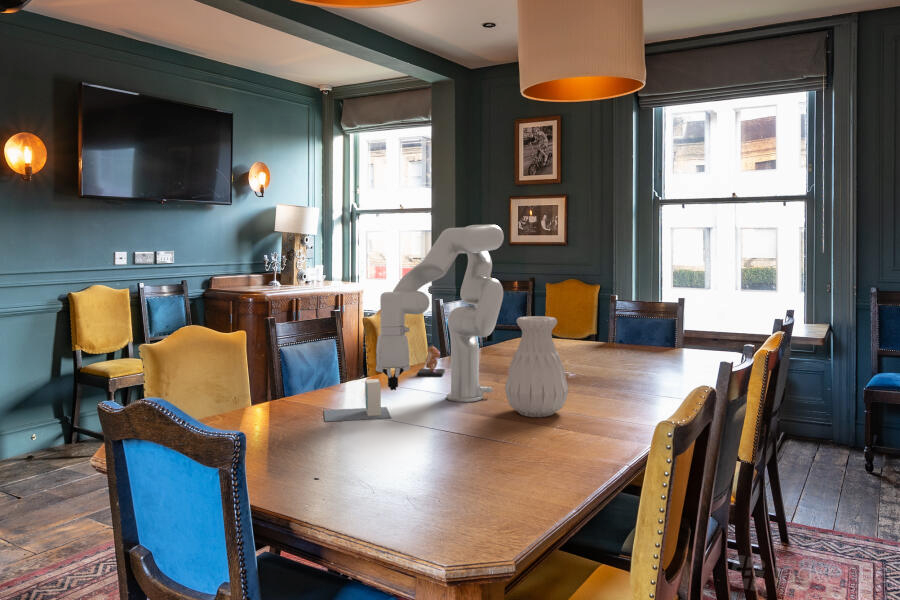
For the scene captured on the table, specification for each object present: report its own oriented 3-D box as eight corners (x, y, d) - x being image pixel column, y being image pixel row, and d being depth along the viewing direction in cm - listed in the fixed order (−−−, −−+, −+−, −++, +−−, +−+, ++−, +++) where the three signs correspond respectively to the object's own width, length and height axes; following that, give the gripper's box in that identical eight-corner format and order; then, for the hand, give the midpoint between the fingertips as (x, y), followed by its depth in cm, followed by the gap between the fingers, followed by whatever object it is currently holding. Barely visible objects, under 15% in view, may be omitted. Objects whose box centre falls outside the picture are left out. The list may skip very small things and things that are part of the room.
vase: (527, 424, 204) (528, 323, 202) (492, 410, 222) (492, 316, 219) (581, 416, 213) (582, 319, 211) (544, 403, 231) (544, 313, 229)
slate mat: (386, 407, 225) (386, 406, 225) (391, 418, 212) (391, 417, 211) (323, 411, 221) (323, 410, 221) (325, 422, 208) (325, 421, 207)
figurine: (442, 377, 278) (441, 347, 277) (417, 376, 279) (416, 347, 278) (444, 372, 288) (444, 343, 287) (420, 372, 289) (420, 343, 288)
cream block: (378, 409, 221) (378, 379, 220) (380, 415, 214) (380, 383, 214) (365, 410, 220) (365, 379, 220) (367, 415, 213) (366, 383, 213)
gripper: (414, 329, 222) (414, 386, 223) (367, 330, 219) (368, 388, 220) (418, 332, 214) (418, 390, 216) (369, 333, 211) (370, 392, 213)
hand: (393, 389), depth 218 cm, fingers closed
